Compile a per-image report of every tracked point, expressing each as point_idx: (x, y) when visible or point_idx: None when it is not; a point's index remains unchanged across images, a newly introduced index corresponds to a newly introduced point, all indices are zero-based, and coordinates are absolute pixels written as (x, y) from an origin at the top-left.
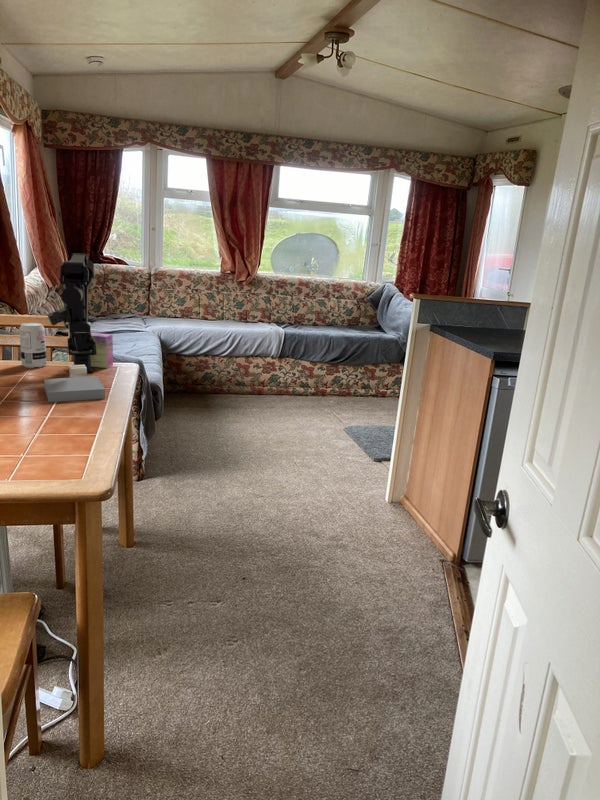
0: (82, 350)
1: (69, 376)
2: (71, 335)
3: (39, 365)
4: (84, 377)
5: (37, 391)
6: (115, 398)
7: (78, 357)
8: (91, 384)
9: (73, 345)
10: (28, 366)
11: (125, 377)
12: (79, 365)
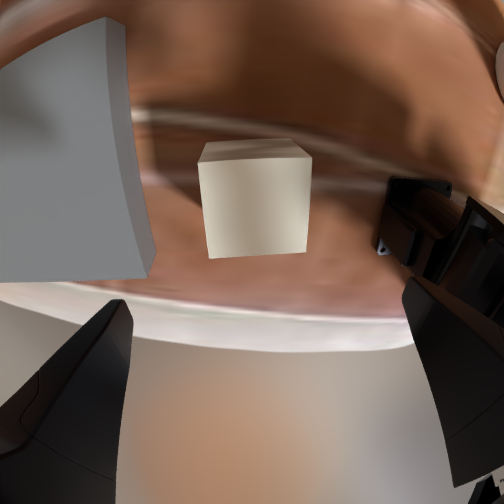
0: (438, 284)
1: (289, 141)
2: (484, 344)
3: (500, 81)
4: (121, 225)
5: (81, 14)
6: (22, 286)
7: (430, 236)
8: (23, 249)
9: (474, 260)
10: (499, 48)
11: (270, 338)
12: (289, 222)
